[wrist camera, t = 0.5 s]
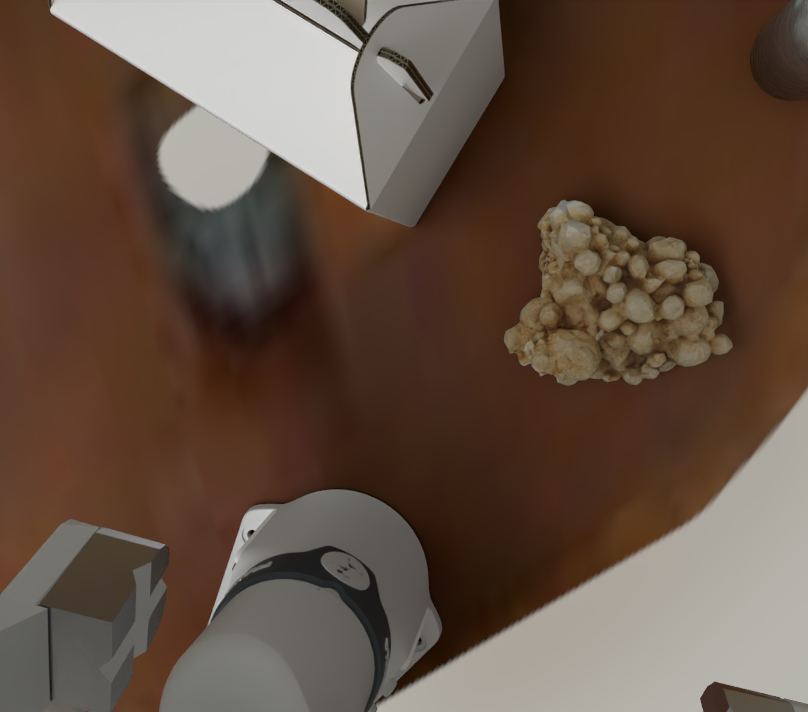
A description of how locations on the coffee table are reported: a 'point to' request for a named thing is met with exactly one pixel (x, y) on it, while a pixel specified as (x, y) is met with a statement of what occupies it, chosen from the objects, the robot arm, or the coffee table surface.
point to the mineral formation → (615, 303)
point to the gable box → (323, 80)
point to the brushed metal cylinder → (783, 53)
